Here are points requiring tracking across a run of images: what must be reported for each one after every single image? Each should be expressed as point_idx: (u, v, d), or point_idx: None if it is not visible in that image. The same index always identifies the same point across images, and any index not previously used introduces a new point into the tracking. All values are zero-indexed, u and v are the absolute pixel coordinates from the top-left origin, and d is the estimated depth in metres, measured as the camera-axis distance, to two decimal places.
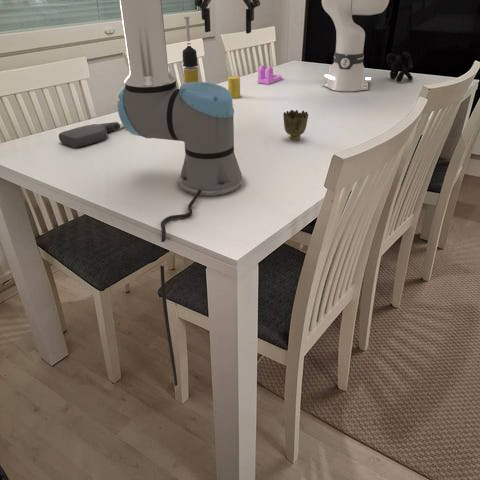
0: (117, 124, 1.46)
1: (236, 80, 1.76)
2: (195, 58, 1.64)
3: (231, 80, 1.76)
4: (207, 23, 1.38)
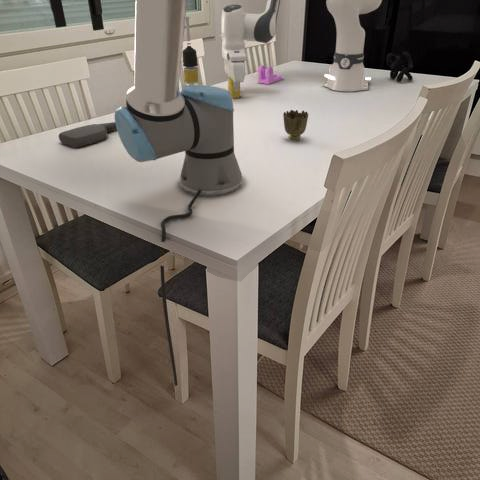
0: None
1: None
2: (195, 58, 1.64)
3: (231, 80, 1.76)
4: (57, 16, 1.10)
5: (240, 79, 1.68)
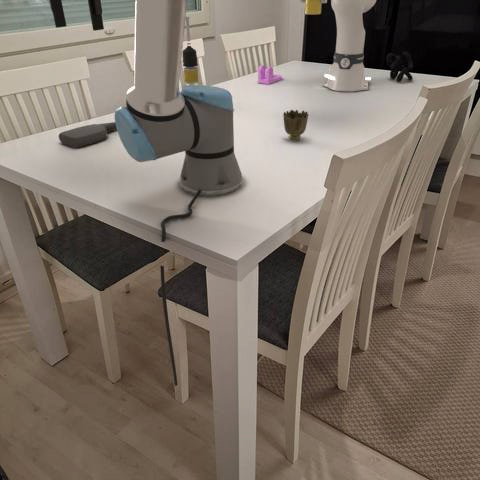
0: None
1: None
2: (195, 58, 1.64)
3: None
4: (57, 16, 1.10)
5: None
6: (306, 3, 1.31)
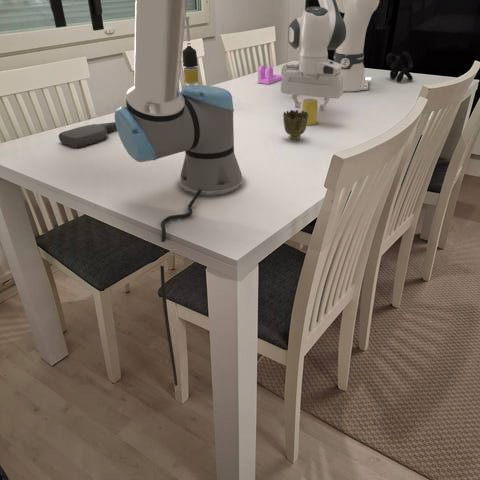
0: None
1: (317, 102, 1.46)
2: (195, 58, 1.64)
3: (314, 104, 1.45)
4: (57, 16, 1.10)
5: (341, 93, 1.41)
6: None
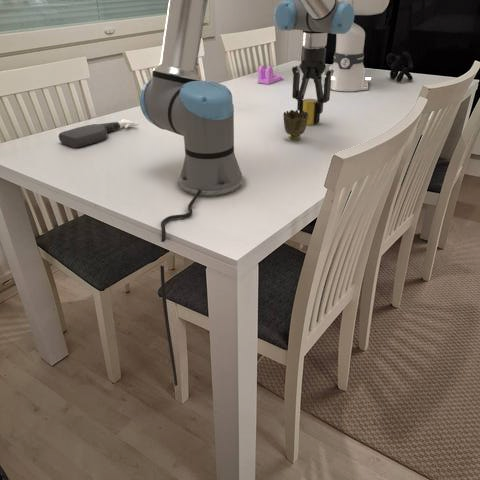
0: (117, 124, 1.46)
1: (317, 102, 1.46)
2: None
3: (314, 104, 1.45)
4: None
5: None
6: None
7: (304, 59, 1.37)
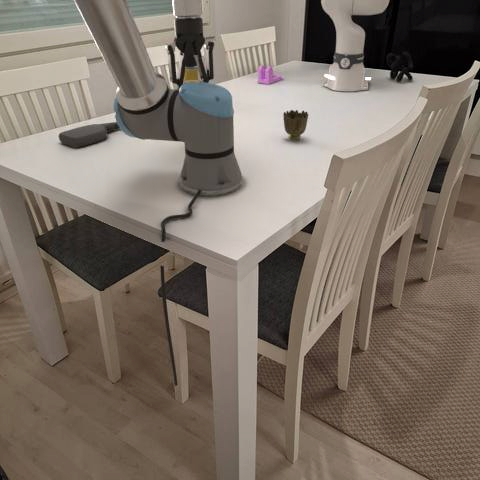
0: (117, 124, 1.46)
1: None
2: None
3: None
4: None
5: None
6: None
7: (188, 32, 1.15)
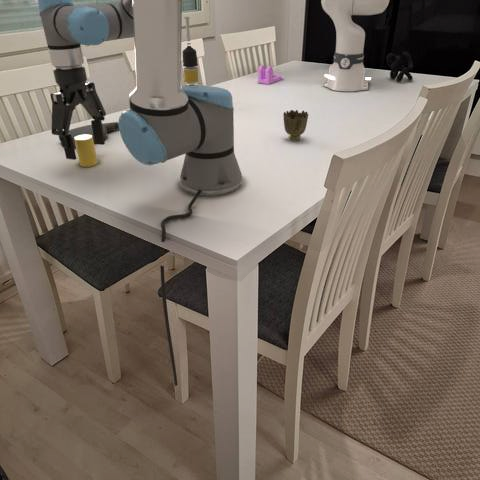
0: (117, 124, 1.46)
1: None
2: (195, 58, 1.64)
3: None
4: None
5: None
6: (89, 156, 1.20)
7: (78, 81, 1.09)
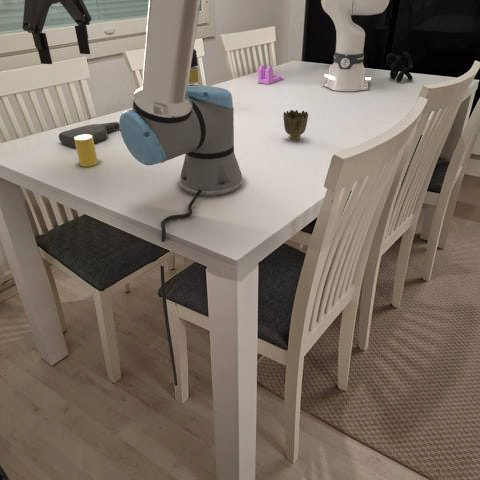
0: (117, 124, 1.46)
1: None
2: (195, 58, 1.64)
3: None
4: None
5: None
6: (89, 156, 1.20)
7: None
